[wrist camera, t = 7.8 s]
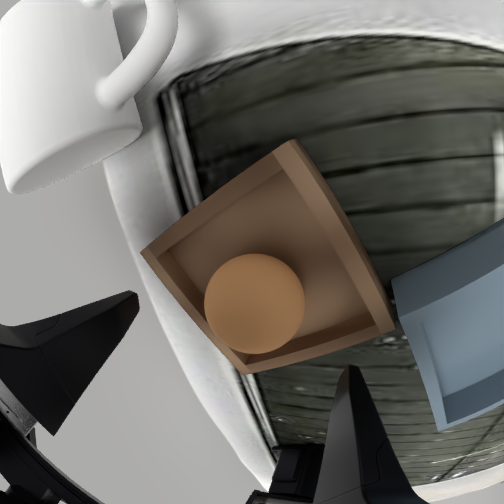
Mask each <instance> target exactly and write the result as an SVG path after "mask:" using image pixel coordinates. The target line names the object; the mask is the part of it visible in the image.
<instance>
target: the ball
mask: <svg viewBox="0 0 504 504" xmlns="http://www.w3.org/2000/svg"><path fill="white" fill-rule="evenodd" d="M204 309H205V315H206V319H207V322H208V324H209V326H210V328H211V330H212V331H213V333H214V334H215V335H216V337H217V338H218V339H219V340H220V341H222V342H223V343H224V344H225V345H227V346H228V347H230V348H232V349H234V350H237V351H240V352H243V353H250V354H260V353H266V352H270V351H273V350H275V349H277V348H279V347H281V346H282V345H284V344H285V343H287V342H288V341H289V340H290V339H291V338H292V337H293V336H294V335H295V333H296V332H297V330H298V329H299V327H300V325H301V323H302V320H303V317H304V313H305V295H304V291H303V287H302V285H301V282H300V280H299V279H298V277H297V275H296V274H295V273H294V272H293V270H292V269H291V268H290V267H289V266H288V265H286V264H285V263H284V262H282V261H280V260H279V259H277V258H274V257H272V256H269V255H264V254H245V255H241V256H238V257H235V258H233V259H231V260H229V261H228V262H226V263H225V264H223V265H222V266H221V267H220V268H219V269H218V270H217V271H216V272H215V273H214V275H213V276H212V278H211V279H210V281H209V283H208V286H207V289H206V292H205V299H204Z"/></svg>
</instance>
